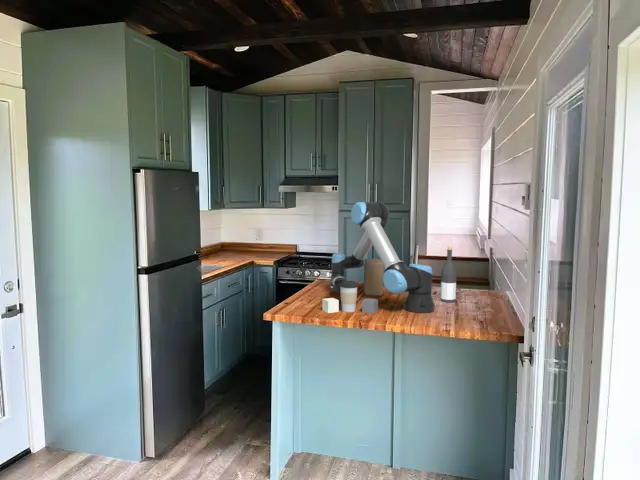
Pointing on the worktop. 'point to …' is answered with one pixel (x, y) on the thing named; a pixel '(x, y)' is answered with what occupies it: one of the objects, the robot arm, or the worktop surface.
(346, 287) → the coffee cup
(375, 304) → the charcoal block
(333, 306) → the cream block
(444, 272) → the wine bottle
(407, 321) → the worktop surface
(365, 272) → the block
